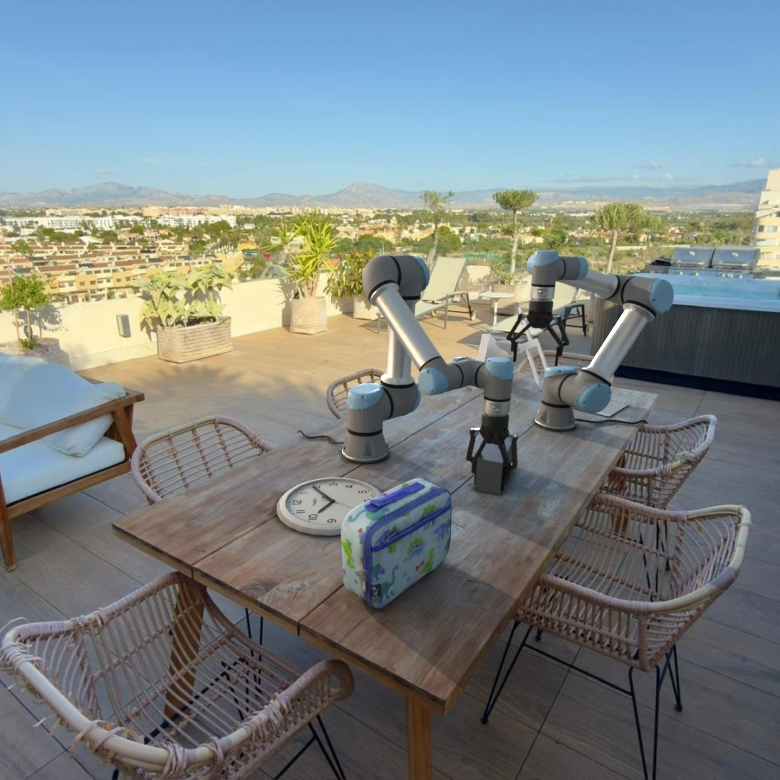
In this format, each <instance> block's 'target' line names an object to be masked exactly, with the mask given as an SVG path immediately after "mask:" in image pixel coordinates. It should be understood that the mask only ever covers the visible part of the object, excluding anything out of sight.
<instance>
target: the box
mask: <svg viewBox="0 0 780 780" xmlns="http://www.w3.org/2000/svg"><path fill="white" fill-rule="evenodd" d="M504 442H505V446H506V450H507V453H508V456H509V459H510V462H511V463H512V453H511V443H512V442H510V439H509V437H507V438H506V439H505V440H504ZM504 466H505V465H504V460H503V459H502V455H501V452H500V449H499V447H498V445H494V444H487V443H486V445H485V447H484V449H483V451H482V452H481V454H480V456H478V458H477V468H476V481H475V485H474V490H475V491H480V492H483V493H489V494H494V495H500V494H501V492H502V490H501V485H502V474H503V469H504Z"/></svg>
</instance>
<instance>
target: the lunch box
mask: <svg viewBox="0 0 780 780" xmlns="http://www.w3.org/2000/svg"><path fill="white" fill-rule="evenodd" d="M451 539H452V494H451V491H450V490H449V488H446V487H439V486H437V485H435V484H434V483H432V482H430V481H428V480H426V479H424V478H421V477H416V478H413V479H410V480H408V481H405V482H403V483H402V484H398V485H397V486H395V487H392V488H390V489H389V490H386V491H384V492H382V494H380V495H378V496H376V497H374V498H372V499H370V500H368V501H366V502H364V503H362V504H360V505H358V506H356V507H354V508H353V509H351V510H350V511H349V512H348V514H347V515H346V517H345V518H344V520H343V523H342V528H341V535H340V546H341V569H342V570H341V571H342V582H343V585H344V588H345V589H346V590H347V591H349V592H351V593H353V594H355V595H356V596H358V597H359V598H361V599H362V600H364V601H365V602H366V603H367V605H368V606H370V607H372V608H374V609H378V610H379V609H380V610H381V609H383V608H384V607H387V605H389V604H390V603H391V602H392V601H393V600H395V599H396V598H397V597H399V596H400V595H402V594H403V593H404V592H405V591H407V590H408V589H409V588H411V587H412V586H413V585H415V584H416V583H418V581H419V580H420V579H421V578H423V577H425V576H427V575H428V574H429V573H431V572H432V571H434V570H435V569H437V568H438V567H439V566H441V564H442V563H443V562H444V561H445V559H446V557H447V556H448V554H449V550H450V547H451V541H452V540H451Z"/></svg>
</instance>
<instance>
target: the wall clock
mask: <svg viewBox="0 0 780 780" xmlns="http://www.w3.org/2000/svg"><path fill="white" fill-rule="evenodd" d="M382 493H383V492H382V491H381V490H380V489H379V488H377V487H376V486H374V485H372V484H371V483H369V482H365V481H362V480H359V479H355V478H349V477H338V476H337V477H335V476H333V477H332V476H331V477H322V478H317V479H312V480H307V481H305V482H302V483H299V484H297V485H295V486H293V487H292V488H290V489H288V490H287V491H286V492H285V493H284V494H283V495H281V496H280V498H279V499H278V502H277V503H276V515H277V517H278V518H279V520H280V521H281V522H282V523H283V524H285V525H286V526H287V527H288V528H290V529H293V530H295V531H297V532H299V533H303V534H308V535H312V536H327V537H328V536H329V537H331V536H332V537H333V536H341V528H342V523H343V520H344V518H345V517H346V515H347V514H348V512H349V511H350V510H351V509H353V508H354V507H356V506H358V505H360V504H362V503H364V502H366V501H368V500H370V499H372V498H374V497H376V496H378V495H380V494H382Z"/></svg>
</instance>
